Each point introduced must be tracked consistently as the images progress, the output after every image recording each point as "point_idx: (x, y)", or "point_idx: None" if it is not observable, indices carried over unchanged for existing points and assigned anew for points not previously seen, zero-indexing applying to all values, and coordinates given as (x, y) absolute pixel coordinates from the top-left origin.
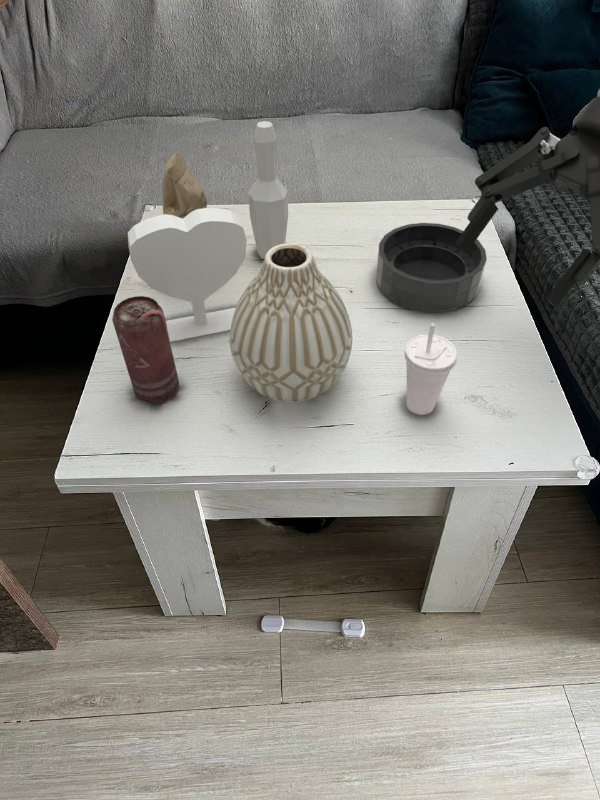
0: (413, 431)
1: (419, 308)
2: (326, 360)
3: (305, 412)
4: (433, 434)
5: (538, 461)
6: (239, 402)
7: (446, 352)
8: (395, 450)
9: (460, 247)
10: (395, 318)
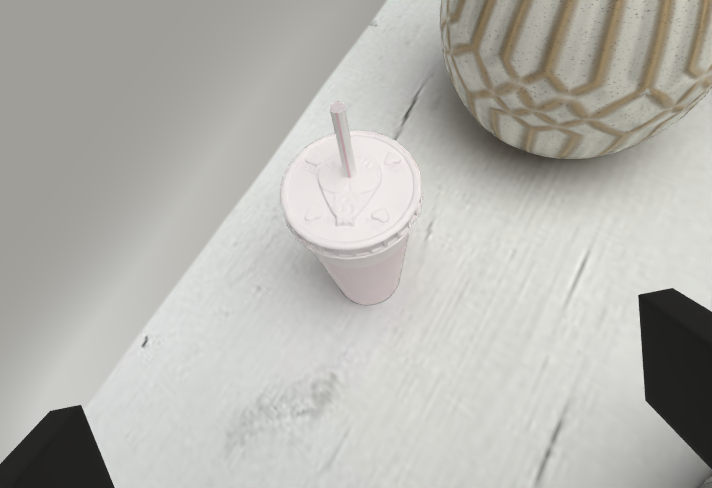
0: None
1: (708, 482)
2: (448, 1)
3: None
4: (289, 255)
5: (110, 396)
6: None
7: (324, 215)
8: None
9: (644, 320)
10: None
